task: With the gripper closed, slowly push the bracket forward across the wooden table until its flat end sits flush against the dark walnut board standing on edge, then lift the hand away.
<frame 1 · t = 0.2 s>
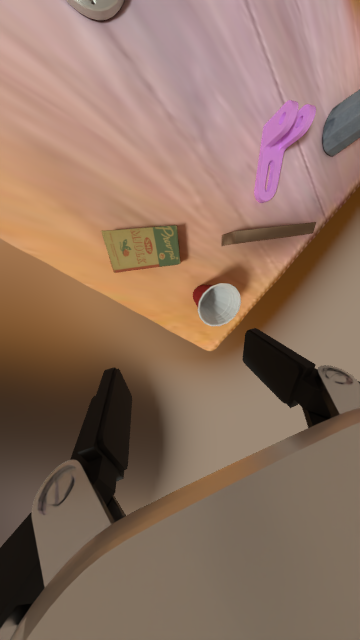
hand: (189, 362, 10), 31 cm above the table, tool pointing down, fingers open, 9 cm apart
plastic cup: (200, 294, 42), on the table
carton: (145, 250, 33), on the table
walnut board: (258, 235, 39), on the table
moka pot: (334, 134, 33), on the table
bracket: (265, 169, 33), on the table
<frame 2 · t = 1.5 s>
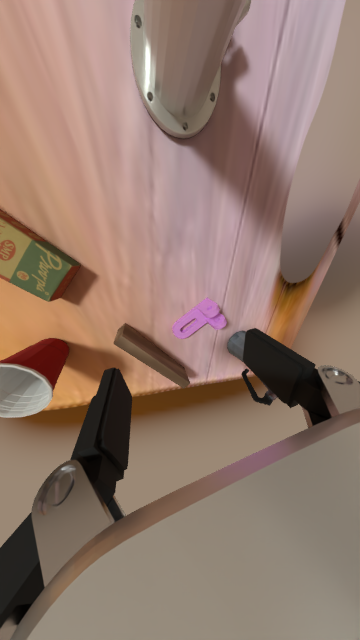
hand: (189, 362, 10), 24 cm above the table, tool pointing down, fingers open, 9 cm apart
plastic cup: (53, 347, 31), on the table
carton: (22, 250, 23), on the table
walnut board: (156, 351, 38), on the table
moka pot: (237, 342, 45), on the table
bracket: (192, 319, 37), on the table
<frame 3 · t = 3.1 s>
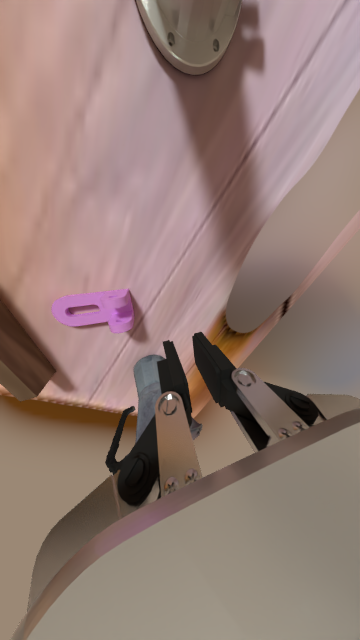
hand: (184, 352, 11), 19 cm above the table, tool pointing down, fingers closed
walnut board: (9, 324, 23), on the table
moka pot: (150, 368, 35), on the table
bracket: (96, 306, 26), on the table
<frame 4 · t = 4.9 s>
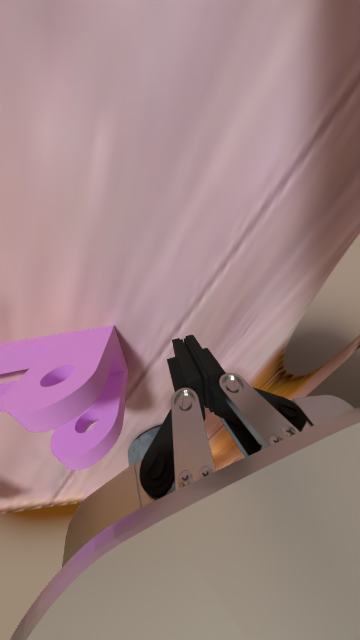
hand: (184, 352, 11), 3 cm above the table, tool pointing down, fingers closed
moka pot: (156, 440, 21), on the table
bracket: (45, 363, 12), on the table
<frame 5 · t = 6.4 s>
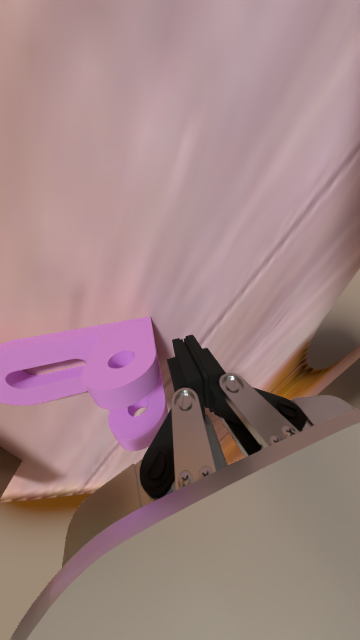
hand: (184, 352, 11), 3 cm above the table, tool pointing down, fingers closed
moka pot: (183, 430, 22), on the table
bracket: (84, 355, 12), on the table, touching gripper
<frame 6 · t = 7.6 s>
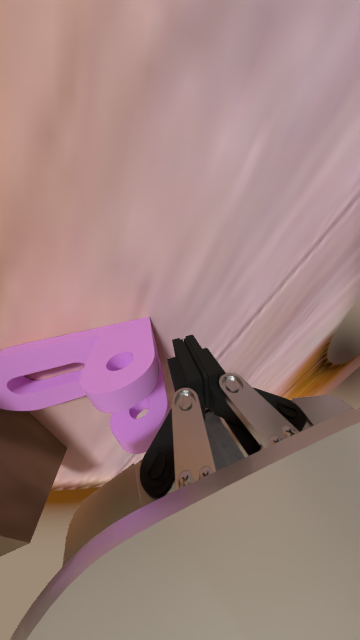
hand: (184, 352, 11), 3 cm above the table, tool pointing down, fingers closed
moka pot: (210, 422, 23), on the table
bracket: (84, 358, 12), on the table, touching gripper, walnut board
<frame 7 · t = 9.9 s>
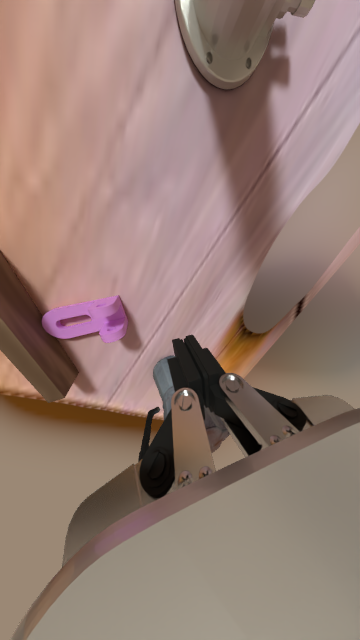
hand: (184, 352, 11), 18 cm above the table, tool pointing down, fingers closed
walnut board: (38, 325, 23), on the table
moka pot: (168, 369, 35), on the table
bracket: (88, 316, 25), on the table
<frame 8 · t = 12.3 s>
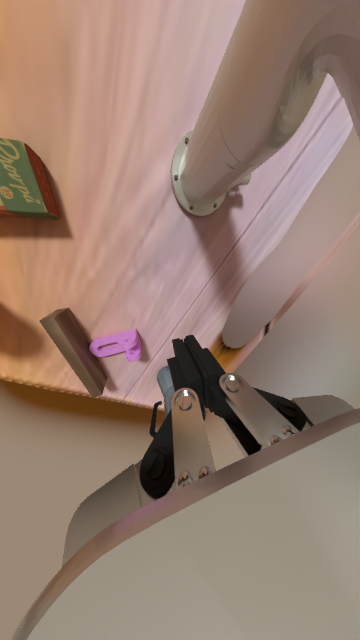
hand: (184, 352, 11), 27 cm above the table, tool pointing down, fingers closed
walnut board: (85, 349, 36), on the table
moka pot: (168, 374, 49), on the table
bracket: (116, 341, 38), on the table
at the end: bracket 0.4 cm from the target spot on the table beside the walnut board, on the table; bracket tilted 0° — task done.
